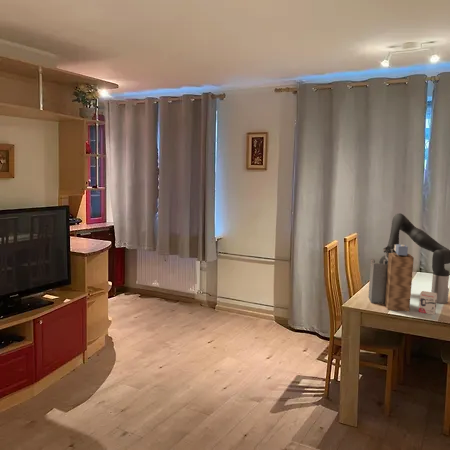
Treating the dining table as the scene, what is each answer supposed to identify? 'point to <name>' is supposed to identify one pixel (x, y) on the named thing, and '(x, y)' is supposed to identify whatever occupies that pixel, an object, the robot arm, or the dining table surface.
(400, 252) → the cream rectangular block
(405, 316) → the dining table surface
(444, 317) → the dining table surface
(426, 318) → the dining table surface
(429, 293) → the ink box
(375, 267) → the tray
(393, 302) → the stand
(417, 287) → the dining table surface
